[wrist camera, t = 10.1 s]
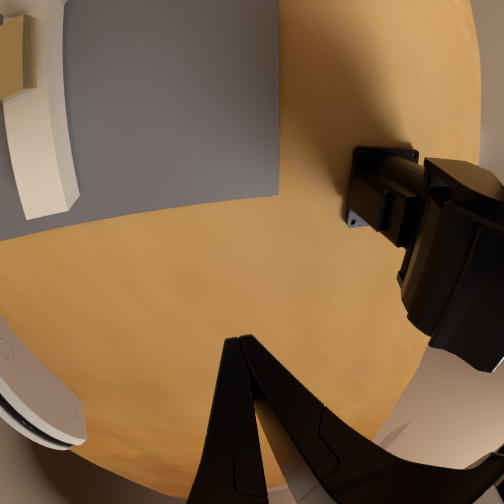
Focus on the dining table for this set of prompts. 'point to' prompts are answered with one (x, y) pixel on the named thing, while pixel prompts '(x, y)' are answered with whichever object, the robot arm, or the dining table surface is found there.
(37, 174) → the link
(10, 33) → the block
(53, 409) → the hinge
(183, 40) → the board
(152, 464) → the dining table surface
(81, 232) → the dining table surface
